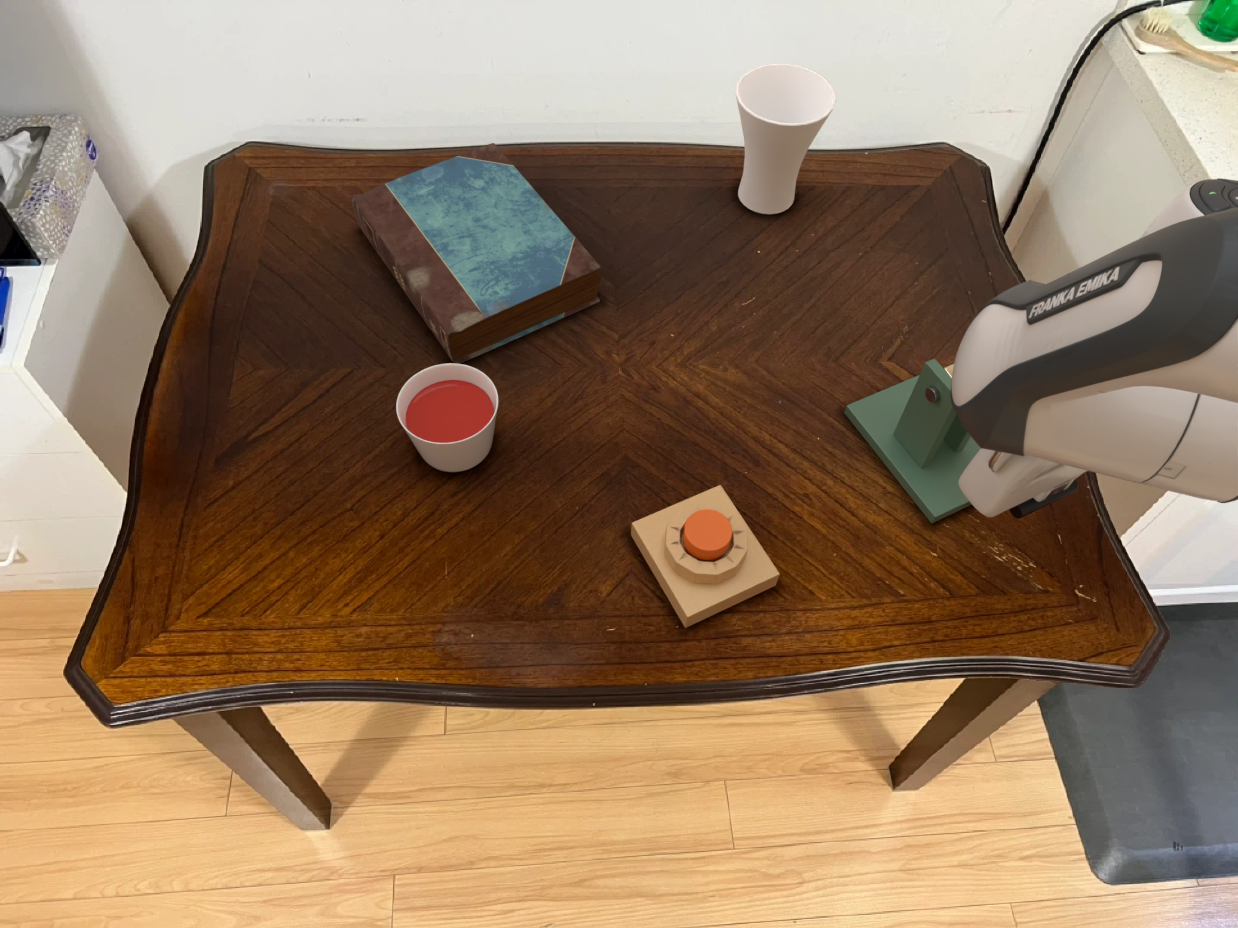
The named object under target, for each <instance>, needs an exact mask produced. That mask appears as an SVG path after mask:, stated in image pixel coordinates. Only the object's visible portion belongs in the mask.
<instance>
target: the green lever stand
mask: <svg viewBox="0 0 1238 928" xmlns="http://www.w3.org/2000/svg"><path fill="white" fill-rule="evenodd" d="M944 368H945V367H943V366H942V365H941V364H940V363H939V362H938V361H937V359H936V358H932V359H930V360H928V361H925V363H924V365H923V367H922V368H921V371H920V373H919V374H918V375H916V376H913V377H910V378H908V379H907V380H904V381H902V382H899V383H897V384H895V385H891V386H890V387H887V388H885V389H883V390H879V391H878V392H874V393H873V394H870V395H869V396H865V397H864V398H861V399H859V400H857V401H854V402H852V403H849V404H847V405H846V406H845V409H844V411H843V413H844V415H845V416H846V417H847V419H848V420H849V421H850V423H852V426H854V427H855V429H856V430H857V431H858V432H859V434H860V435H861V436H862V438H863V439H864V440H865V441H866V443H867V444H868V445H869V446H870V448H871V449H872V451H873V452H874V453H875V454H876V455H877V457H878V458H879V459H880V460H881V462H882V463H883V464H884V466H885V467H886V468H887V469H888V470H889V472H890V473H891V474H892V476H893V477H894V478H895V480H896V481H897V482H898V483H899V484H900V486H901V487H902V488H903V489H904V491H905V492H906V493H907V494H908V496H909V497H910V499H911V500H912V501H913V502H914V503H915V505H916V506H917V507H918V509H919V510H920V511H921V512H922V513H923V515H924V516H925V518H926V519H927V520H928V522H930V524H934V523H936V522H938V521H940V520H942V519H945V518H947V517H948V516H951V515H953V514H955V513H957V512H959V511H961V510H964V509H965V508H968V507H970V506H973V505H972V504H971V503H970V501H969V500H968V499H967V498H966V496H965V495H964V494H963V492H962V491H961V489H960V487H959V484H958V481H959V478H960V476H961V475H962V473H963V472H964V470H965V469H966V467H967V466H968V465H969V463H970V462H971V460H972V459H973V458H974V456H975V455H976V454H977V453H978V451H979V450H980V449H981V448H980V447H979V445H978V444H977V443H976V442H975V441H974V439H973V438H972V437H971V436H970V434H969V433H968V431H967V430H966V429H965V427H964V426H963V424H962V423H961V421H960V419H959V418H958V416H957V414H956V412H955V410H954V408H953V406H952V404H951V397H950V391H951V381H952V378H951V376H950V375H949V374H948V373H947V372H946V371H945V370H944Z"/></svg>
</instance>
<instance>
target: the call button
mask: <svg viewBox="0 0 1238 928" xmlns="http://www.w3.org/2000/svg"><path fill="white" fill-rule="evenodd" d="M705 509H709V510H715V511H717V512H720V513H721V514H723V515H724V516H725V517H726V518H727V519H728V520H729V522H730V524H731V526H732V538H731V542H730V546H729V548H728V550H727V552H726V553H725V554H724V555H723V556H721V557H720V558H718V559H715V560H701V559H698V558H696V557H694V556H692V555H691V554H690V553H689V552H688V551H687V549H686V548H685V546H684V543H683V533H684V527H685V523H686V521H687V519H688V518H689V516H691V515H692V514H693V513H695V512H697V511H699V510H705ZM630 536H631V538H632V539H633V541H634V543H635V545H636V547H637V548H638V550H639V552H640V553H641V555H642V557H643V558H644V560H645V562H646V564H647V565H648V567H649V569H650V571H651V572H652V574H653V576H654V577H655V579H656V580H657V582H658V584H659V586H660V588H661V589H662V591H663V593H664V594H665V596H666V597H667V599H668V602H669V603H670V605H671V606H672V608H673V609H674V611H675V613H676V615H677V617H678V619H679V620H680V622H681V623H682V625H683V627H684V629H687V628H688V627H690V626H693V625H695V624H697V623H699V622H702V621H703V620H706V619H708V618H710V617H712V616H714V615H716V614H719V613H720V612H723V611H725V610H727V609H729V608H731V607H733V606H735V605H737V604H739V603H742V602H744V601H746V600H748V599H750V598H753V597H754V596H757V595H759V594H761V593H763V592H765V591H767V590H769V589H771V588H773V587H776V585H777V583H778V581H779V577H780V574H781V573H780V572H779V570H778V569H777V567H776V566H775V564H774V563H773V561H772V560H771V558H770V556H769V555H768V554H767V552H766V551H765V550H764V548H763V546H762V545H761V543H760V541H759V540H758V539H757V537H756V536H755V534H754V533H753V532H752V530H751V528H750V527H749V526H748V524H747V522H746V521H745V519H744V518H743V516H742V515H741V513H740V512H739V511H738V509H737V508H736V506H735V504H734V503H733V501H732V500H731V498H730V497H729V495H728V494H727V492H726V491H725V490H724V488H723V486H722V485H721V484H719V485H717V486H715V487H714V486H713V487H712V488H710V489H707V490H704V491H703V492H700V493H698V494H695V495H693V496H690V497H688V498H686V499H684V500H682V501H679V502H676V503H674V504H672V505H670V506H667V507H665V508H663V509H661V510H658V511H656V512H654V513H651V514H649V515H647V516H644V517H642V518H640V519H638V520H635V521H633V522H631V528H630Z"/></svg>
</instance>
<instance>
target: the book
mask: <svg viewBox="0 0 1238 928" xmlns="http://www.w3.org/2000/svg"><path fill="white" fill-rule="evenodd" d="M350 199H351V200H350V201H351V206H352V210H353V213H354V216H355V219H356V222H357V224H358V226H359V229H360V230H361V231H362V233H363V234H364V236H365V237H366V239H367V240H368V241H369V243H370V244H371V247H372V248H373V249H374V250H375V252H376V253H377V255H378V256H379V257H380V259H381V260H382V262H383V263H384V265H385V266H386V267H387V269H388V271H389V272H390V273H391V275H392V276H393V278H394V279H395V281H396V282H397V284H398V285H399V286H400V288H401V290H403V292H404V294H405V295H406V296H407V298H408V299H409V301H410V302H411V304H412V305H413V306H414V308H415V309H416V311H417V312H418V314H419V315H420V317H421V318H422V319H423V321H424V322H425V324H426V325H427V327H428V328H429V330H430V331H431V332H432V334H433V335H434V337H435V338H436V340H437V341H438V342H439V344H440V346H441V347H442V348H443V350H444V352H445V353H446V354H447V356H448V357H449V358H450V360H451V361H452V363H455V364H462V363H464V362H467V361H469V360H472V359H474V358H477V357H479V356H482V355H484V354H485V353H488V352H491V351H493V350H495V349H497V348H499V347H502V346H504V345H506V344H509V343H511V342H513V341H515V340H518V339H519V338H522V337H524V336H526V335H528V334H531V333H533V332H535V331H538V330H540V329H543V328H544V327H547V326H549V325H551V324H554V323H556V322H558V321H560V320H562V319H564V318H566V317H569V316H571V315H574V314H575V313H578V312H580V311H582V310H584V309H587V308H589V307H591V306H594V305H596V304H598V303H600V302H601V299H600V298H599V297H598V294H599V290H600V287H601V276H600V273H599V270H600V269H601V268H602V267H601V265H600V264H599V262H597V261H596V260H595V258H594V257H593V256H592V254H590V252H589V251H588V250H587V249H586V248H585V246H584V245H583V244H582V243H581V242H580V241H579V240H578V238H577V237H576V236H575V235H574V233H572V231H571V230H570V229H569V228H568V227H567V225H566V224H564V222H563V221H562V219H560V218H559V216H558V215H557V214H556V213H555V212H554V210H553V209H552V208H551V207H550V206H549V204H548V203H546V201H545V200H544V199H543V198H542V197H541V195H540V194H539V193H538V192H537V191H536V190H535V188H534V187H533V186H532V185H531V184H530V182H529V181H528V180H527V179H526V178H525V177H524V176H523V175H522V173H521V172H520V171H519V170H518V168H516V166H515V165H514V164H513V163H512V161H511V160H510V159H509V158H508V157H507V156H506V155H505V154H504V153H503V151H502V150H501V149H500V148H499V146H498V145H497V144H496V143H495V142H492V143H488V144H486V145H483V146H480V147H478V148H475V149H472V150H470V151H466V152H464V153H462V154H459V155H457V156H453V157H450V158H448V159H445V160H443V161H440V162H438V163H436V164H432V165H430V166H427V167H424V168H421V169H419V170H416V171H414V172H411V173H409V174H406V175H403V176H401V177H398V178H395V179H393V180H391V181H388V182H386V183H383V184H381V185H379V186H376V187H373V188H371V189H369V190H368V191H365V192H364V193H361V194H359V193H358V194H355V193H354V194H352V195H351V198H350Z"/></svg>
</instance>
